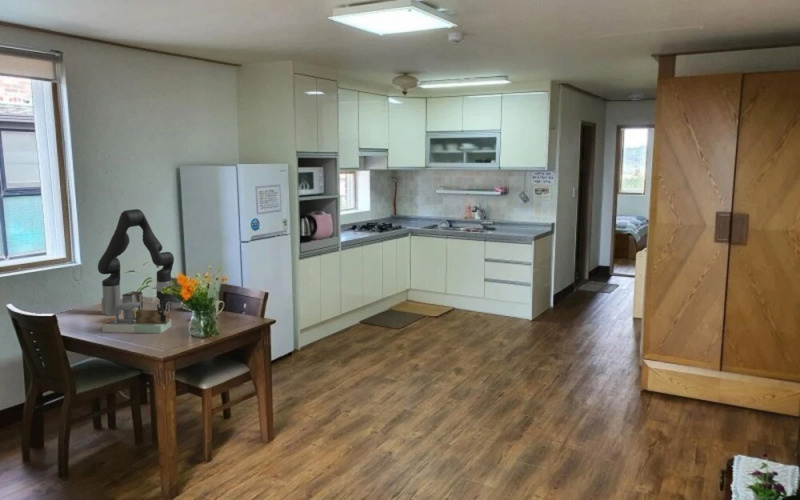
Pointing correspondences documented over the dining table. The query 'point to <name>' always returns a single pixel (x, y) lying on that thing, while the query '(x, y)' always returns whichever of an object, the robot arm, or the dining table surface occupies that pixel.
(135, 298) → the coffee box
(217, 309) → the mug
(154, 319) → the walnut bar
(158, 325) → the tunnel deck
